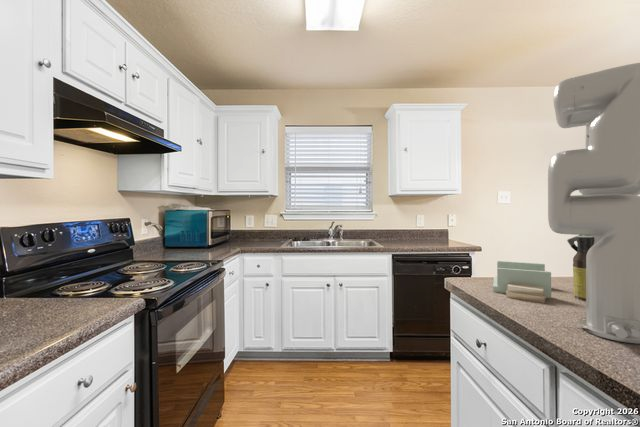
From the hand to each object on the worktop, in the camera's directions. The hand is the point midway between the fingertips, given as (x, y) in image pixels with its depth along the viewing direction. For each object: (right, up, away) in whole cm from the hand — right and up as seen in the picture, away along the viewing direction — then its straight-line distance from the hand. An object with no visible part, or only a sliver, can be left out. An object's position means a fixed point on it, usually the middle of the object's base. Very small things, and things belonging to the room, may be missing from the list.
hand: (602, 266), depth 95 cm
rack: (-23, -10, +5) cm, 25 cm away
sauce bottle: (-11, -10, -7) cm, 16 cm away
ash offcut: (-28, -7, -5) cm, 29 cm away
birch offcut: (-28, -9, -5) cm, 30 cm away
